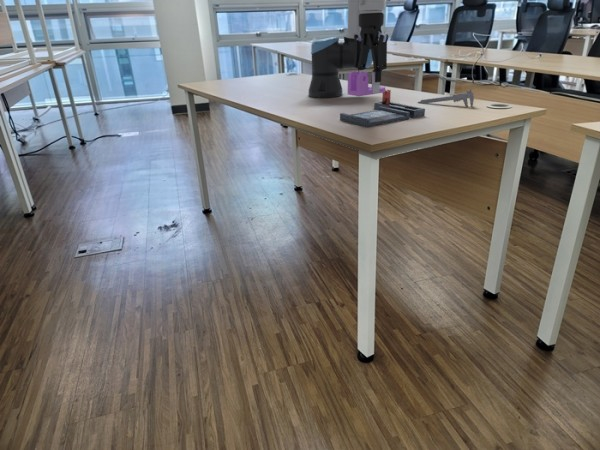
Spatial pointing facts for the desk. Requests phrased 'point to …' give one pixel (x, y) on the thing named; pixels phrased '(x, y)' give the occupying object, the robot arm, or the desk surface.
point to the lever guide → (413, 110)
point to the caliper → (453, 98)
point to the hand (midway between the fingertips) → (368, 91)
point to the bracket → (360, 84)
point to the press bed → (375, 117)
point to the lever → (387, 98)
